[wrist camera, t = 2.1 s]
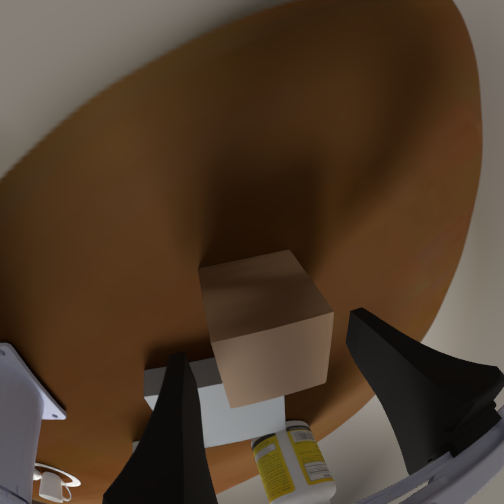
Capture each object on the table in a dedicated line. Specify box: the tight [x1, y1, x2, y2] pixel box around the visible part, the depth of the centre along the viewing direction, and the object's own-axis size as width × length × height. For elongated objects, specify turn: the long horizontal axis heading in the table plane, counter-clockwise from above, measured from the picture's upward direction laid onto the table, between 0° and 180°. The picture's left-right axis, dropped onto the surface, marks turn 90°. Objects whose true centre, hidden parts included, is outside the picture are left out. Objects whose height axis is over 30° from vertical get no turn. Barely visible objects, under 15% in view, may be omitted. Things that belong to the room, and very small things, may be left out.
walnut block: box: [198, 249, 334, 409], centre depth 13 cm, size 4×4×5 cm
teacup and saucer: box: [33, 463, 81, 502], centre depth 21 cm, size 9×8×4 cm
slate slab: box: [144, 357, 286, 448], centre depth 18 cm, size 8×8×2 cm
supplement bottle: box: [251, 420, 336, 504], centre depth 20 cm, size 6×6×10 cm
